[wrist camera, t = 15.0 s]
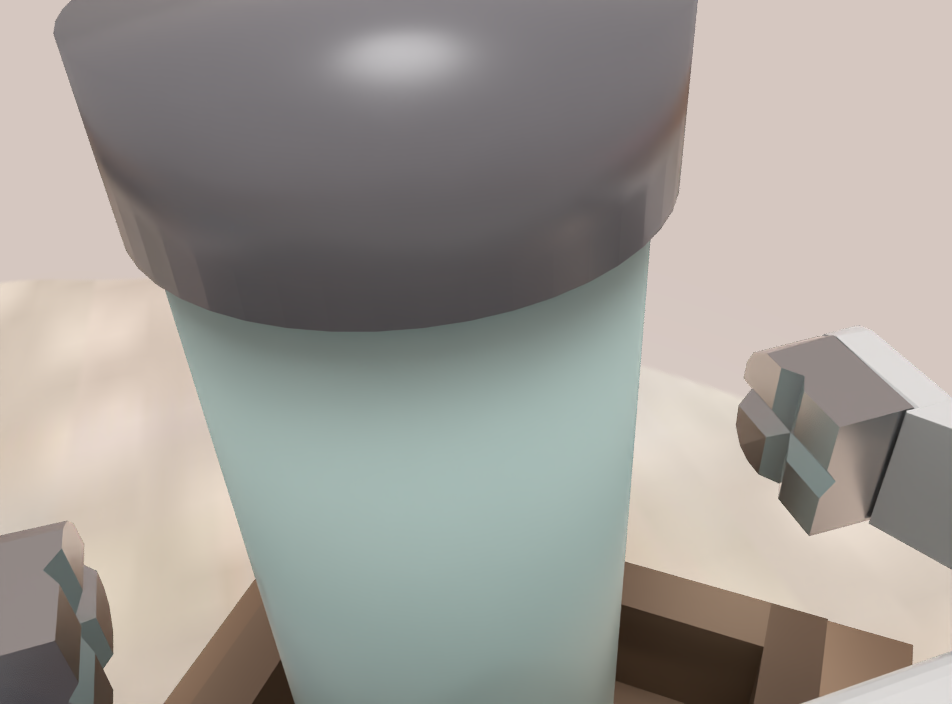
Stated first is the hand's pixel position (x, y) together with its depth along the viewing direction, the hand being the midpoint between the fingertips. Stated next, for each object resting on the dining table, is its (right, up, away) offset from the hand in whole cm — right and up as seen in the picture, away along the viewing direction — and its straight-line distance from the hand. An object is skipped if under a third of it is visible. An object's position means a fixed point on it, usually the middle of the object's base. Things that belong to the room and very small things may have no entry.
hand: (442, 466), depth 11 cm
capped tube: (0, -7, +5) cm, 9 cm away
